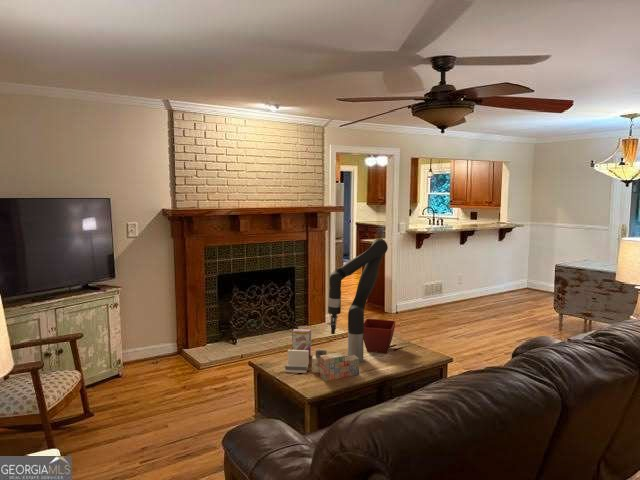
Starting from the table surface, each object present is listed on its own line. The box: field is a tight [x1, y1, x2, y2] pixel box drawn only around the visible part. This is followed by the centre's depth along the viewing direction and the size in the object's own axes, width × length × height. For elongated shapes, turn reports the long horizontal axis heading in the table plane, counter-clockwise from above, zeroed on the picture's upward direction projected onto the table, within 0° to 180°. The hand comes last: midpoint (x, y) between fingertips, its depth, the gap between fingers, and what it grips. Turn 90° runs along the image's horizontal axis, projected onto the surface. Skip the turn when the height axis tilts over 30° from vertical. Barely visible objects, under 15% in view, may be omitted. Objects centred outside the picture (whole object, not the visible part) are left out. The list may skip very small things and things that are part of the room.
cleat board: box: [284, 349, 310, 374], centre depth 265 cm, size 12×12×9 cm
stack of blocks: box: [319, 352, 360, 381], centre depth 255 cm, size 21×6×12 cm, turn 113°
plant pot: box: [363, 318, 396, 354], centre depth 295 cm, size 19×19×17 cm
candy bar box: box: [291, 328, 312, 358], centre depth 283 cm, size 11×5×16 cm, turn 84°
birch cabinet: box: [311, 349, 328, 374], centre depth 261 cm, size 10×5×12 cm, turn 84°
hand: (333, 331), depth 277 cm, fingers open, 8 cm apart
